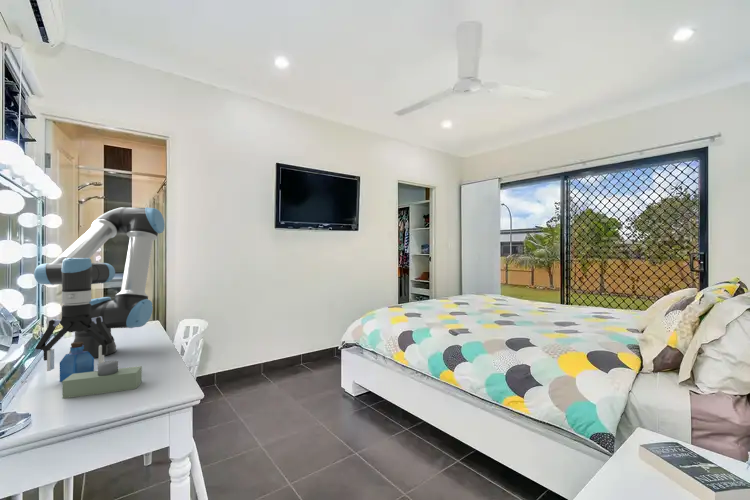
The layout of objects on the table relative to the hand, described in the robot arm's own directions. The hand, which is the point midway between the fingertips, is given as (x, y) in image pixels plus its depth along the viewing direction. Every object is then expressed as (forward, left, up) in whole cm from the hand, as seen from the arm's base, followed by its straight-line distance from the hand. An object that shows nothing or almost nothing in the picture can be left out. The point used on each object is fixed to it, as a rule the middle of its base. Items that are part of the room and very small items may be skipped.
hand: (76, 367), depth 114 cm
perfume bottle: (0, 0, -4) cm, 4 cm away
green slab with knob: (+10, +12, -4) cm, 16 cm away
